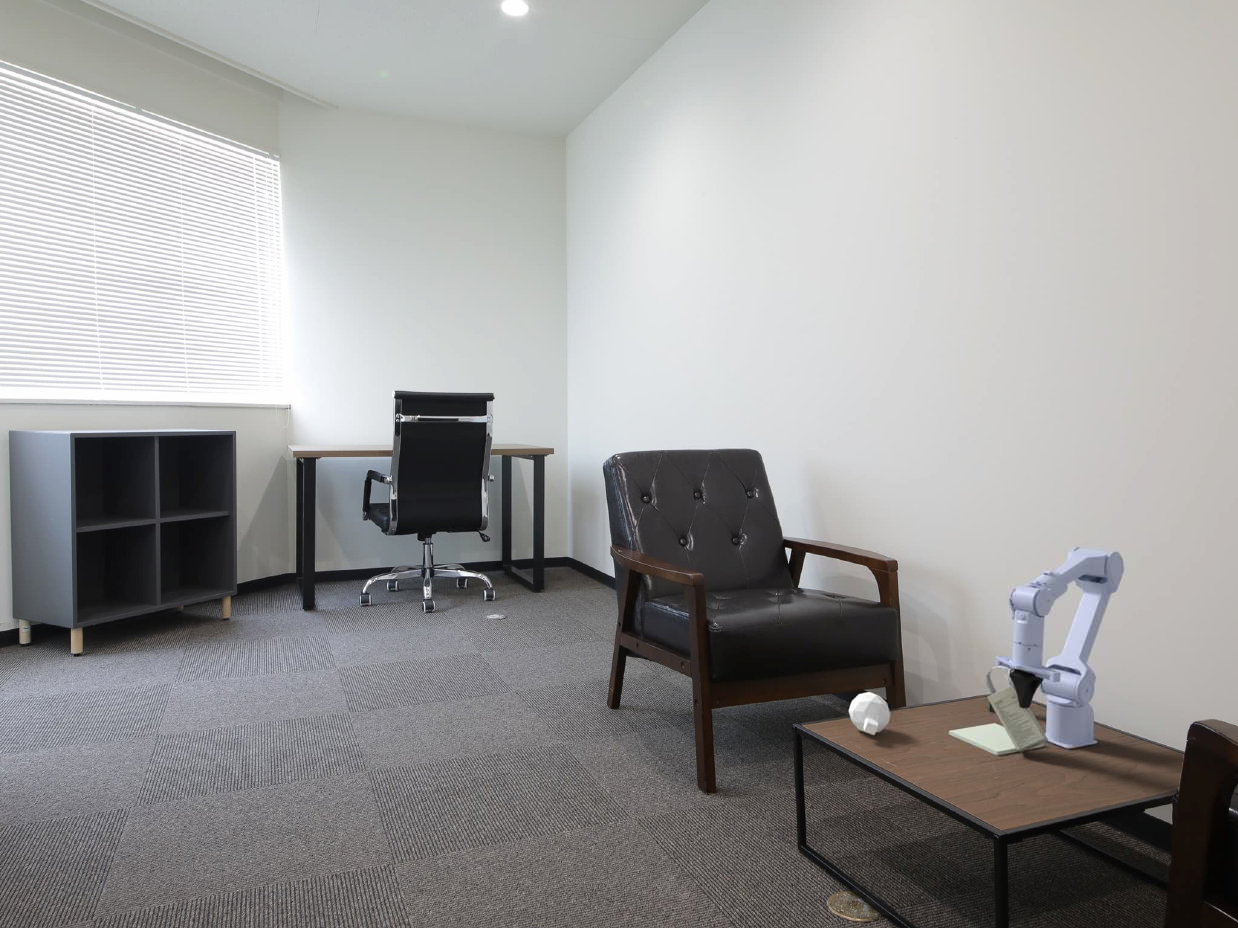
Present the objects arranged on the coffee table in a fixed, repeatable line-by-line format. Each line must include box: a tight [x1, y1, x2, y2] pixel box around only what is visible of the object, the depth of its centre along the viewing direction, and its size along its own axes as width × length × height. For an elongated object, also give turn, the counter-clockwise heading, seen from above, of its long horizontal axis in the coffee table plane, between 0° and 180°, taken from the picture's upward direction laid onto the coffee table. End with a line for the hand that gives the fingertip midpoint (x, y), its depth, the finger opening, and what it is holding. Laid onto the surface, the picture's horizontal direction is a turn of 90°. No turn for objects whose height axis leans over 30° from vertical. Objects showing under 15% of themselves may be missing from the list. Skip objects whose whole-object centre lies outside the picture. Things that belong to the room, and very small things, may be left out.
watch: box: [984, 665, 1014, 714], centre depth 199 cm, size 6×8×11 cm
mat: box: [948, 722, 1045, 756], centre depth 179 cm, size 14×13×1 cm
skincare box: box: [987, 685, 1049, 753], centre depth 173 cm, size 6×4×12 cm
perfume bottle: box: [848, 691, 891, 736], centre depth 182 cm, size 9×9×12 cm
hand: (1024, 707), depth 171 cm, fingers closed, pressing on skincare box
